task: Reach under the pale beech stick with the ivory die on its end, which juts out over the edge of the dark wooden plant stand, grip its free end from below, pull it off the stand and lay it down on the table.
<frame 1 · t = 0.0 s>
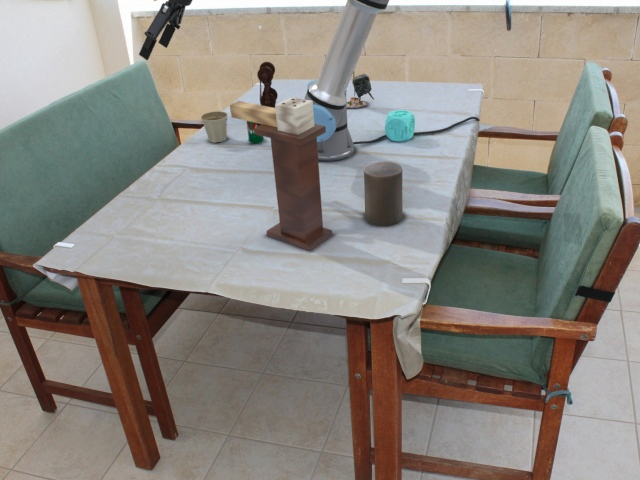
hand: (153, 51, 187), 36 cm above the table, tool tilted 35°, fingers open, 13 cm apart
pillar candle: (383, 217, 168), on the table
soda can: (256, 142, 219), on the table
flower pot: (217, 140, 223), on the table
decorative dice: (400, 137, 215), on the table
plant with pod: (358, 106, 245), on the table
plant stand: (299, 235, 162), on the table
dark brown sculpture: (271, 119, 238), on the table
die stick: (296, 128, 146), point 28 cm above the table, touching plant stand
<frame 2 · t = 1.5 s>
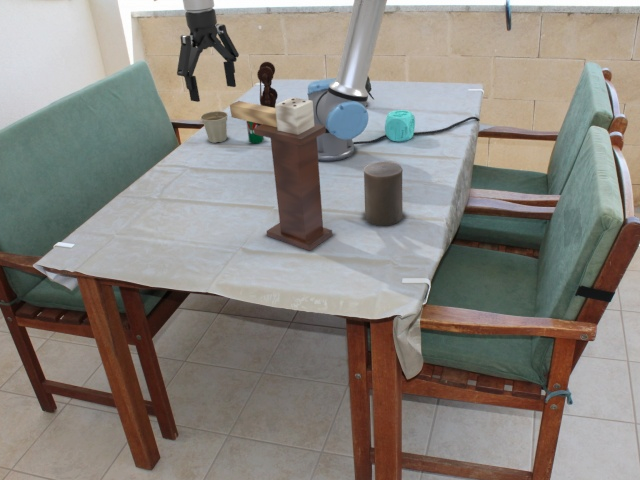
hand: (214, 93, 173), 29 cm above the table, tool pointing down, fingers open, 13 cm apart
nothing on the table moved.
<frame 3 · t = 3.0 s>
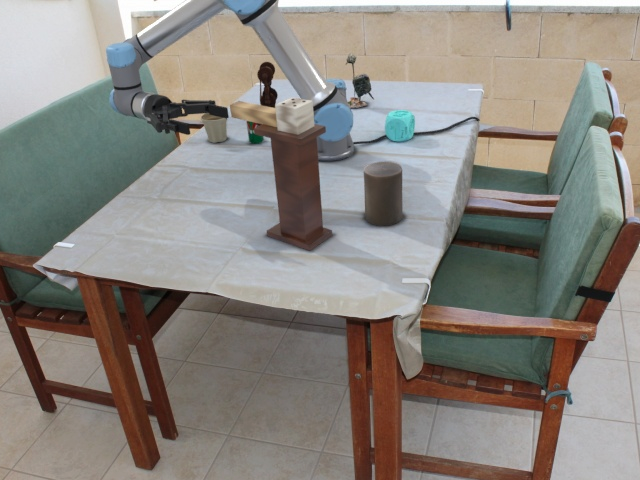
hand: (208, 121, 164), 25 cm above the table, tool horizontal, fingers open, 13 cm apart
nothing on the table moved.
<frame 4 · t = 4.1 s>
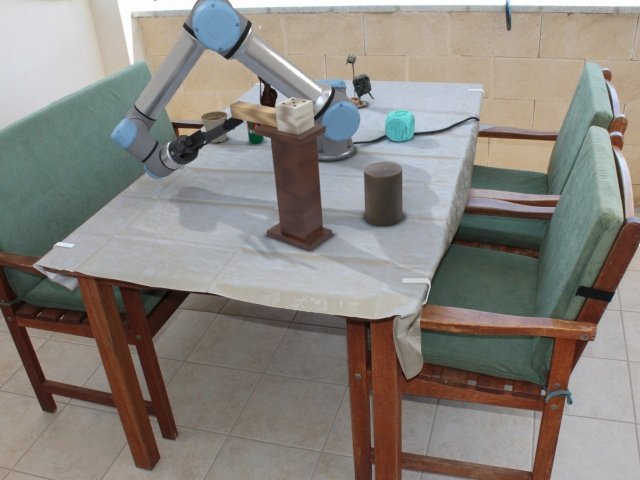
hand: (221, 125, 162), 25 cm above the table, tool pointing upward, fingers open, 13 cm apart
nothing on the table moved.
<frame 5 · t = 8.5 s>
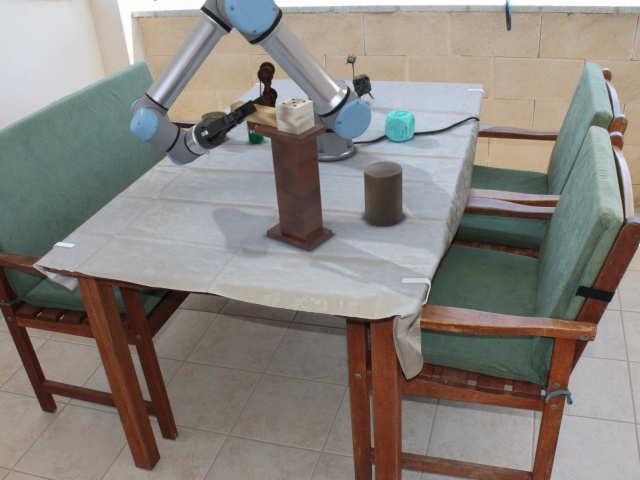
hand: (258, 103, 150), 33 cm above the table, tool pointing upward, fingers closed on die stick, 3 cm apart
die stick: (296, 128, 146), point 29 cm above the table, touching gripper, plant stand
everything else where it was.
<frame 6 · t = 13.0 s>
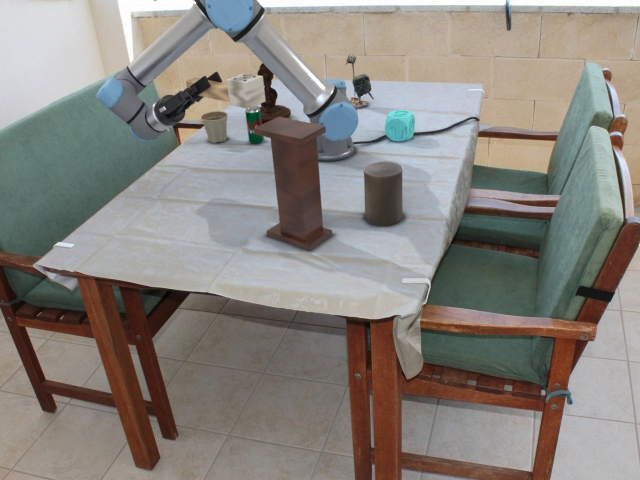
hand: (213, 79, 156), 37 cm above the table, tool pointing upward, fingers closed on die stick, 3 cm apart
die stick: (247, 103, 152), point 32 cm above the table, touching gripper
everything else where it was.
when the fingers open (11 cm above the table, at t = 17.8 s): die stick drops 1 cm, on the table.
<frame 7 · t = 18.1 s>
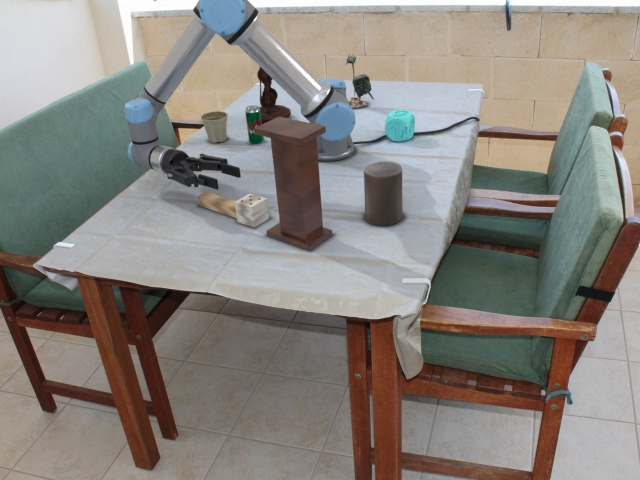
hand: (228, 178, 169), 10 cm above the table, tool horizontal, fingers open, 8 cm apart
die stick: (253, 220, 171), on the table
everything else where it was.
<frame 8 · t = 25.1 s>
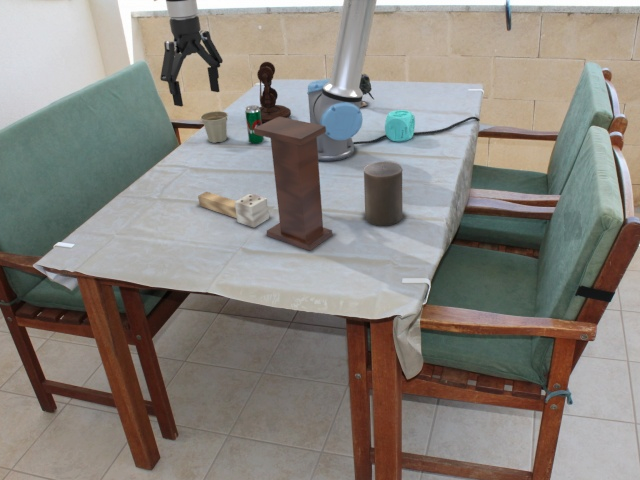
hand: (197, 98, 176), 27 cm above the table, tool pointing down, fingers open, 13 cm apart
nothing on the table moved.
at the end: die stick on the table; die stick touching table; the gripper is holding nothing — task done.
